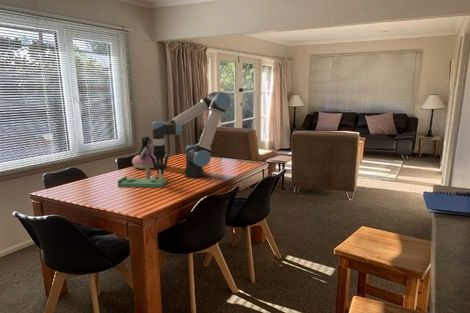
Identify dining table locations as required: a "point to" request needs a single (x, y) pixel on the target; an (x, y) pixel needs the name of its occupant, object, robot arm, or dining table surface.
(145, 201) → the dining table surface
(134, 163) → the cushion
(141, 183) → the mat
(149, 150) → the figurine
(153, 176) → the ball
